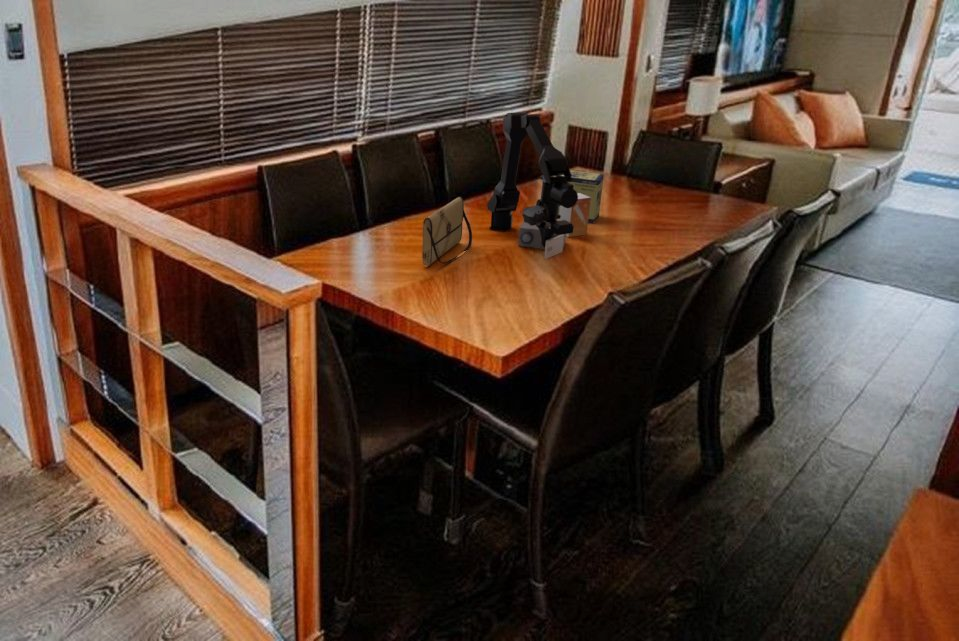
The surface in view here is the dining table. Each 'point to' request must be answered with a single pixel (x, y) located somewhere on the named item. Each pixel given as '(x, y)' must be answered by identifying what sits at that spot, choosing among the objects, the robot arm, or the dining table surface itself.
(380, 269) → the dining table surface
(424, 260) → the clutch purse
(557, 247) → the side door
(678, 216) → the dining table surface
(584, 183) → the protein box
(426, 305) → the dining table surface
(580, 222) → the small box
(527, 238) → the camera block
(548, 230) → the robot arm
